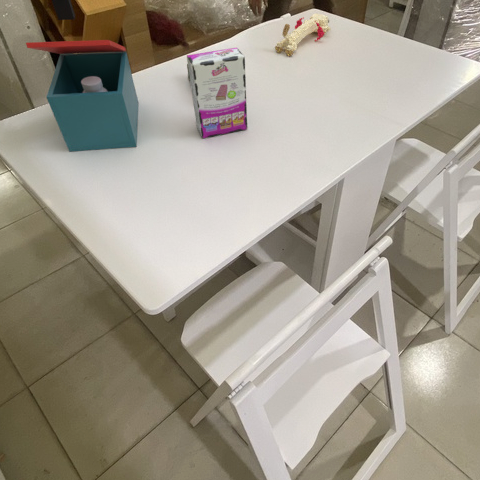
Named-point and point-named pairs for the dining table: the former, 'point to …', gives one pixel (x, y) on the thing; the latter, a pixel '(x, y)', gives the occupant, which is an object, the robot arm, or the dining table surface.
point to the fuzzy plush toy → (302, 32)
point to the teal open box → (95, 101)
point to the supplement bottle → (92, 85)
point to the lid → (77, 46)
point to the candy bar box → (218, 91)
